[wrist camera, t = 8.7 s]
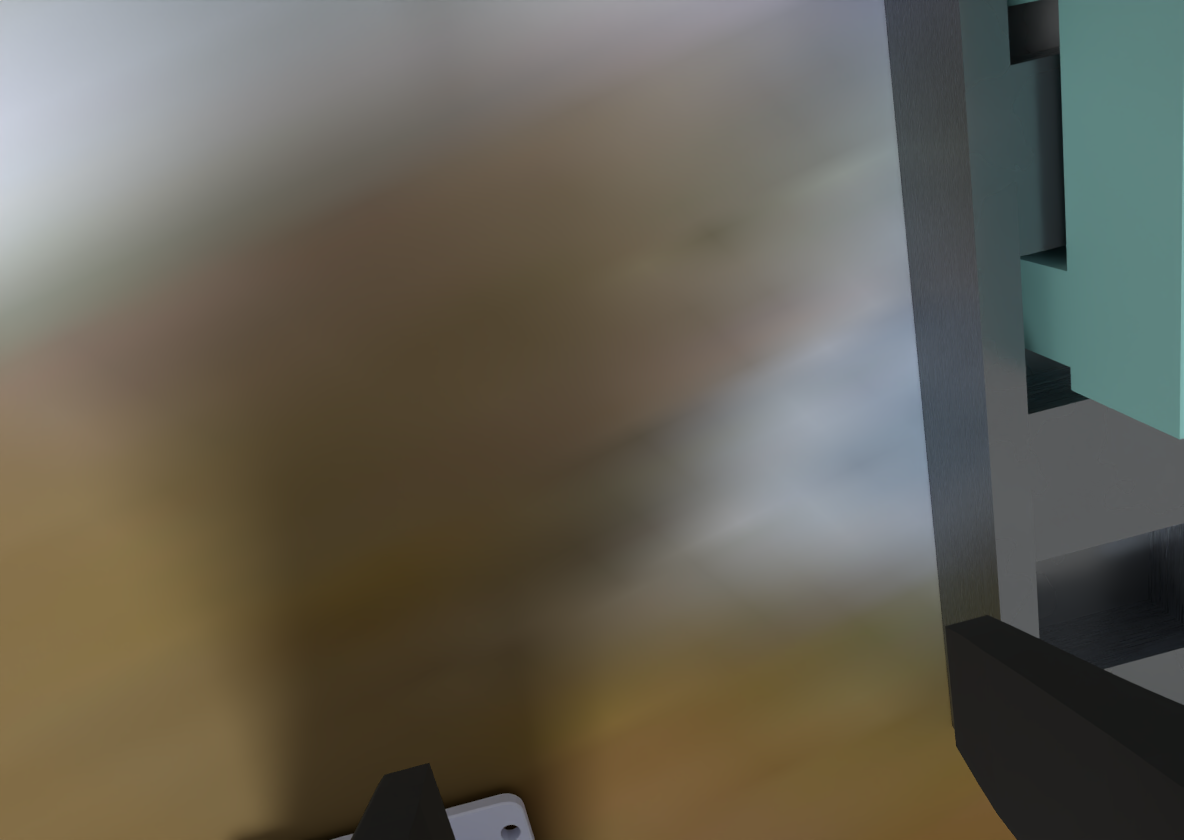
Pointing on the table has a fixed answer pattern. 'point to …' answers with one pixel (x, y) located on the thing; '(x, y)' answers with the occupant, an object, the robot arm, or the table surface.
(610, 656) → the table surface
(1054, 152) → the rail
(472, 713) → the table surface
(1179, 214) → the teal rectangular block
